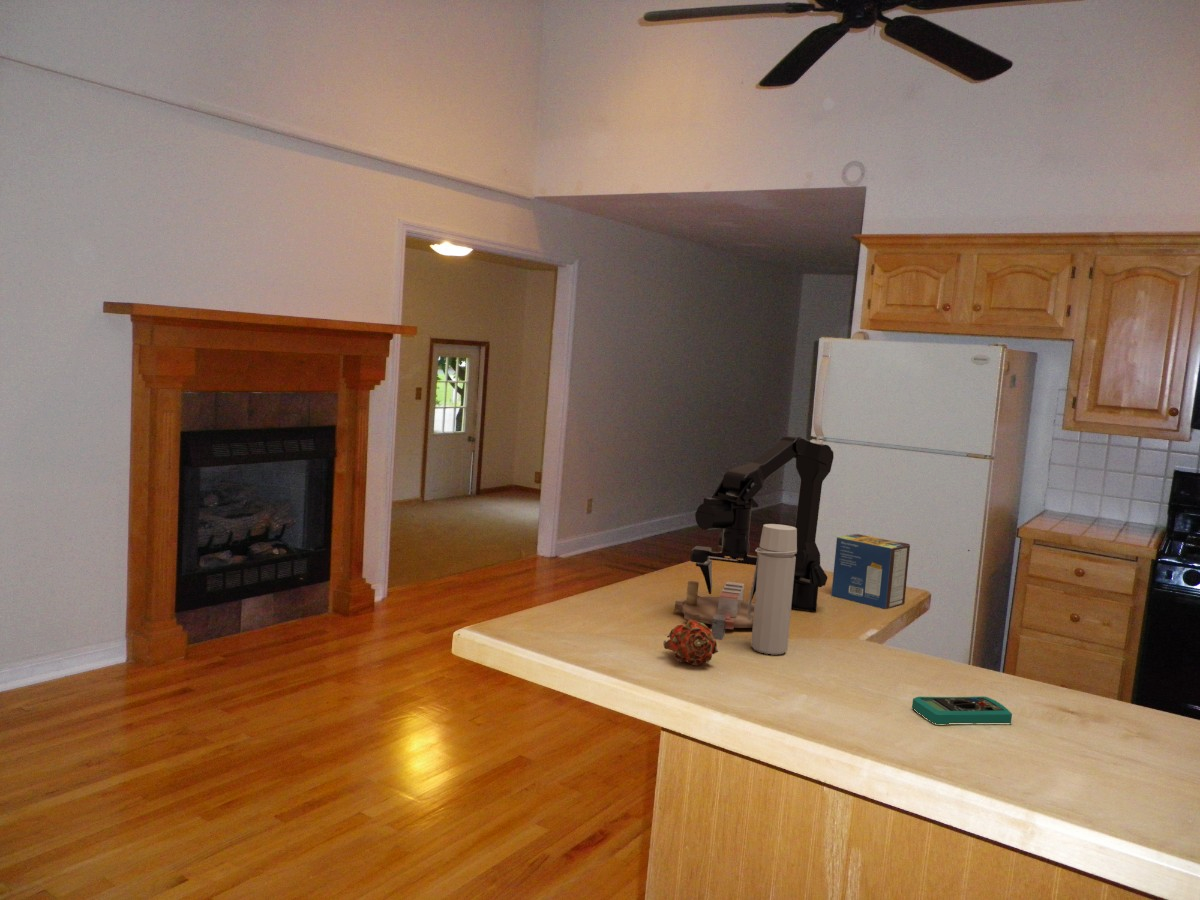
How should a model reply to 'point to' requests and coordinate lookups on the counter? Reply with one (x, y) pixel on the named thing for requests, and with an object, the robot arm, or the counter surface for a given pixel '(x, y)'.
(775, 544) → the water bottle
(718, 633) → the pointer
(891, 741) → the counter surface
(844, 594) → the protein box
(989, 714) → the digital multimeter
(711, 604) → the flat round disc
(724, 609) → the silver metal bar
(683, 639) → the dragon fruit
